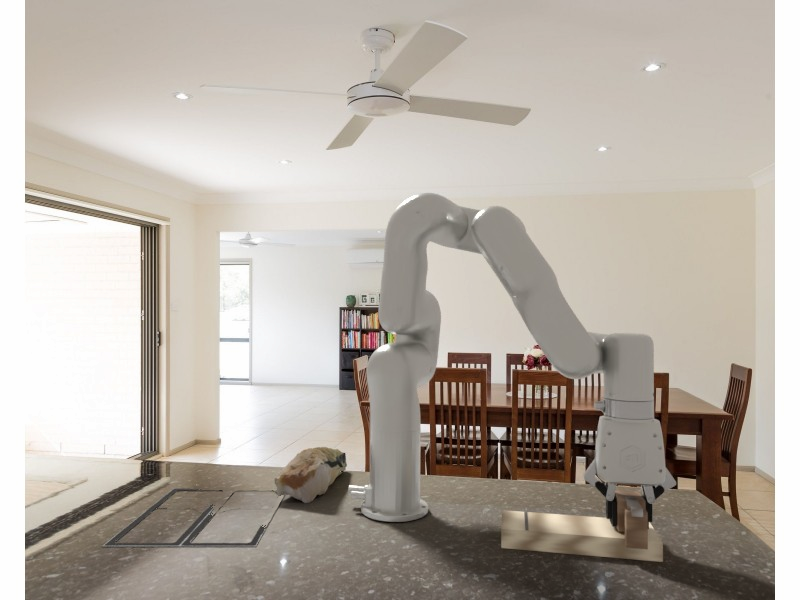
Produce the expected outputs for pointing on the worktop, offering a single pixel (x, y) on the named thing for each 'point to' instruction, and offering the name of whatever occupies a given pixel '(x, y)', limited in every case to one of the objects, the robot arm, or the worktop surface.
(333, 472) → the mineral
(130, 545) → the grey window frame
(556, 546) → the birch board
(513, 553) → the worktop surface
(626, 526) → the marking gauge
